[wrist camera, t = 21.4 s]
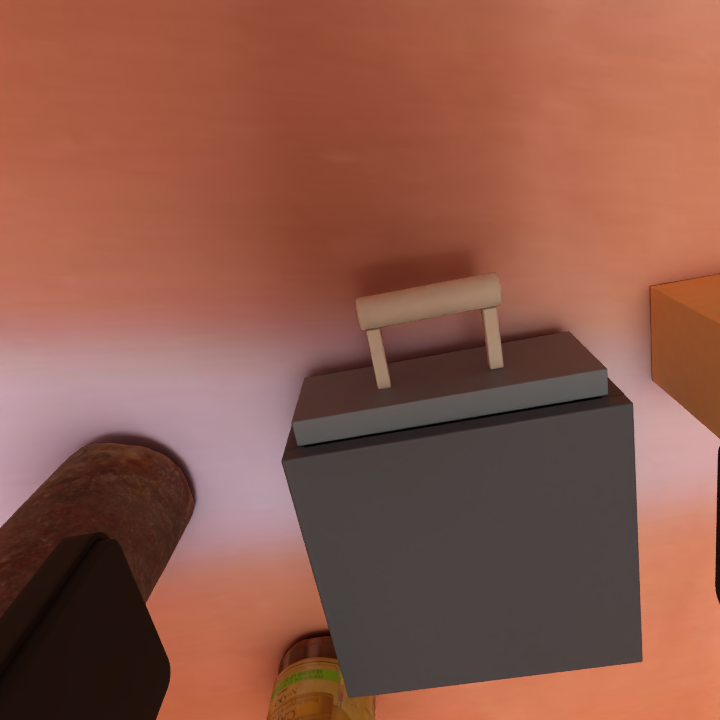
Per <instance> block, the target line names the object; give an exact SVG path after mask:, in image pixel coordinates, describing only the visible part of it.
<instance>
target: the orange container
mask: <svg viewBox="0 0 720 720" xmlns="http://www.w3.org/2000/svg"><path fill="white" fill-rule="evenodd" d="M650 300H651V344H652V380H653V381H654V382H655V383H656V384H657V385H659V386H660V387H661V388H662V389H663V390H664V391H665V392H667V393H668V394H669V395H670V396H671V397H672V398H674V399H675V400H676V401H677V402H678V403H679V404H680V405H682V406H683V407H684V408H685V409H686V410H687V411H689V412H690V413H691V414H692V415H693V416H694V417H695V418H697V419H698V420H699V421H700V422H701V423H702V424H704V425H705V426H706V427H707V428H708V429H709V430H710V431H712V432H713V433H714V434H715V435H716V436H717V437H719V438H720V274H717V275H712V276H706V277H701V278H695V279H690V280H684V281H678V282H673V283H667V284H662V285H656V286H651V287H650Z"/></svg>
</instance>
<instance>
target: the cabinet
mask: <svg viewBox="0 0 720 720" xmlns="http://www.w3.org/2000/svg"><path fill="white" fill-rule="evenodd" d="M607 378H608V377H607ZM570 402H571V403H569V404H563V405H557V406H551V407H545V408H539V409H533V410H527V411H521V412H515V413H509V414H503V415H497V416H491V417H485V418H479V419H473V420H467V421H461V422H455V423H449V424H443V425H437V426H431V427H425V428H419V429H413V430H407V431H401V432H395V433H389V434H383V435H377V436H371V437H365V438H359V439H353V440H347V441H341V442H335V443H329V444H328V442H322V443H316V444H310V445H304V446H298V445H297V442H296V438H295V434H294V431H293V427H292V426H291V430H290V433H289V437H288V440H287V444H286V447H285V451H284V454H283V458H282V465H283V469H284V472H285V476H286V479H287V483H288V486H289V490H290V493H291V497H292V500H293V504H294V507H295V511H296V514H297V518H298V522H299V525H300V529H301V532H302V536H303V539H304V543H305V546H306V550H307V553H308V557H309V560H310V564H311V567H312V571H313V574H314V578H315V582H316V585H317V589H318V592H319V596H320V599H321V603H322V606H323V610H324V613H325V617H326V620H327V624H328V627H329V631H330V634H331V638H332V642H333V645H334V649H335V652H336V656H337V659H338V663H339V666H340V670H341V673H342V677H343V680H344V684H345V687H346V691H347V694H348V697H349V698H355V697H363V696H371V695H379V694H387V693H395V692H403V691H411V690H419V689H427V688H435V687H443V686H451V685H460V684H468V683H476V682H484V681H492V680H500V679H508V678H516V677H524V676H532V675H540V674H548V673H556V672H564V671H572V670H580V669H588V668H596V667H604V666H612V665H620V664H628V663H636V662H642V633H641V606H640V580H639V553H638V526H637V499H636V473H635V446H634V419H633V403H632V402H631V401H630V400H629V399H628V398H627V397H626V396H625V395H624V393H623V392H622V391H621V390H620V389H619V388H618V387H617V386H616V385H615V384H614V383H613V382H612V381H611V380H610V379H609V378H608V395H604V396H598V397H592V398H586V399H580V400H574V401H570Z"/></svg>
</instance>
